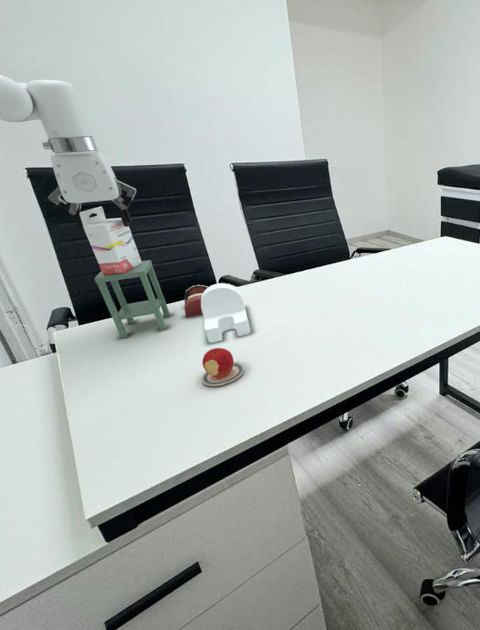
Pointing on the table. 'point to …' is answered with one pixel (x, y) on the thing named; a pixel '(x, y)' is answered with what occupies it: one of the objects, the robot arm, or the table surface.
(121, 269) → the ink cartridge box
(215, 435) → the table surface
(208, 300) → the white phone stand
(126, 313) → the high shelf
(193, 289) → the teeth model
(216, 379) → the apple
